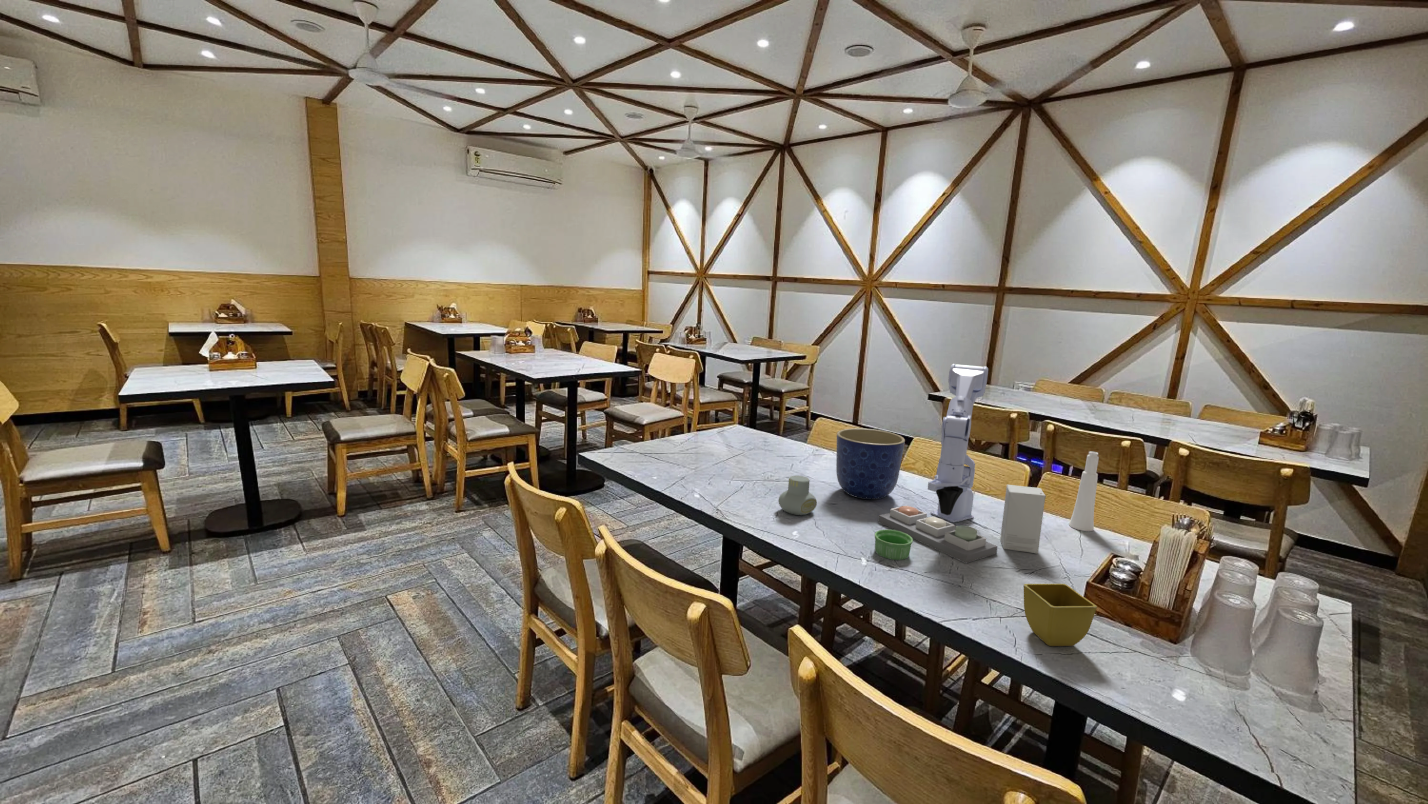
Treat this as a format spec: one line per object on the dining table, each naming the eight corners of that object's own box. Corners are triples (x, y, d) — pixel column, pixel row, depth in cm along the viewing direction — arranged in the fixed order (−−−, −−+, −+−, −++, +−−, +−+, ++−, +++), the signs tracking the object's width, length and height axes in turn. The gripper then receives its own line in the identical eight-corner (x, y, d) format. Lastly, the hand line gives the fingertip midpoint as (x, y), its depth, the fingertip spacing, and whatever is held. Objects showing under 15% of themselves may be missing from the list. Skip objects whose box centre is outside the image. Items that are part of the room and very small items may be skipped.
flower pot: (1015, 625, 113) (1022, 582, 112) (1058, 625, 114) (1065, 582, 112) (1044, 653, 105) (1052, 607, 103) (1090, 652, 106) (1098, 606, 104)
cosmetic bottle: (1095, 527, 166) (1108, 452, 162) (1091, 533, 162) (1104, 456, 158) (1071, 521, 170) (1083, 448, 166) (1066, 526, 166) (1078, 451, 162)
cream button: (933, 524, 157) (934, 515, 157) (949, 531, 153) (950, 522, 153) (920, 527, 155) (921, 518, 154) (936, 534, 151) (937, 525, 150)
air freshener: (795, 520, 162) (797, 485, 160) (773, 511, 168) (775, 477, 166) (820, 511, 169) (822, 478, 167) (798, 503, 175) (800, 471, 173)
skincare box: (1033, 544, 152) (1042, 487, 149) (1038, 555, 146) (1047, 495, 143) (998, 539, 155) (1006, 483, 152) (1001, 549, 149) (1010, 490, 146)
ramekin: (891, 564, 138) (893, 546, 137) (865, 548, 145) (866, 532, 145) (919, 557, 142) (920, 540, 141) (892, 543, 150) (893, 527, 149)
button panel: (907, 515, 169) (909, 502, 168) (996, 553, 146) (998, 538, 145) (878, 521, 163) (879, 508, 162) (965, 563, 140) (967, 547, 139)
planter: (906, 492, 189) (912, 435, 186) (888, 510, 172) (894, 448, 169) (845, 479, 200) (849, 425, 197) (822, 495, 183) (826, 436, 180)
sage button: (962, 532, 150) (964, 524, 149) (980, 540, 145) (981, 531, 145) (950, 536, 147) (951, 527, 147) (967, 543, 143) (968, 534, 142)
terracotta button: (907, 513, 165) (907, 504, 165) (921, 519, 161) (922, 510, 160) (894, 515, 162) (895, 507, 162) (908, 522, 158) (909, 513, 158)
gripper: (955, 455, 155) (949, 504, 158) (920, 461, 148) (914, 512, 150) (979, 462, 150) (973, 512, 152) (944, 469, 142) (937, 522, 144)
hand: (945, 513), depth 151 cm, fingers closed
